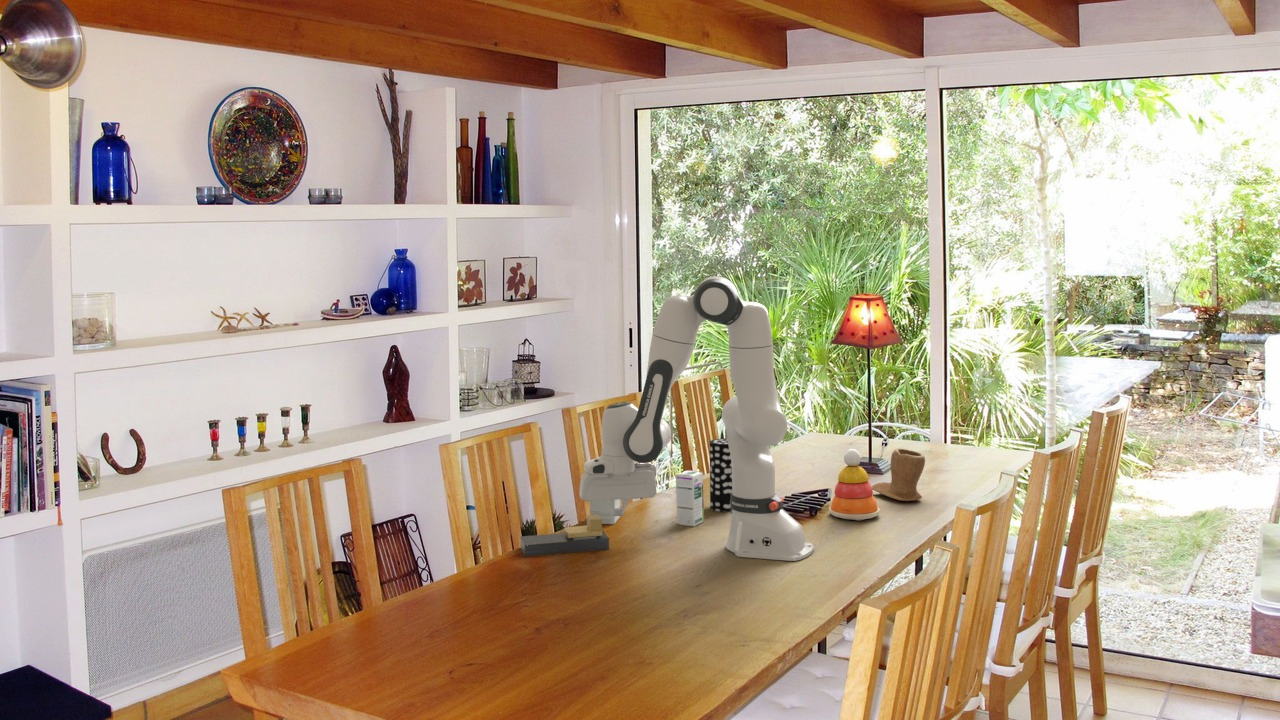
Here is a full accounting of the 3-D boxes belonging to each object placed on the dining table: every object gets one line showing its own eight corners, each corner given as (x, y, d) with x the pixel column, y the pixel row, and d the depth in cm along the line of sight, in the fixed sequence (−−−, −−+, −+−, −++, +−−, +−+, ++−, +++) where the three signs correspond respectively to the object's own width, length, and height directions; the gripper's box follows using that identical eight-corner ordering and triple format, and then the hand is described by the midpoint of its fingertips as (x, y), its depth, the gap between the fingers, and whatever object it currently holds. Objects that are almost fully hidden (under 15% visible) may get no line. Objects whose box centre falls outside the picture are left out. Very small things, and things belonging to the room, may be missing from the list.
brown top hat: (932, 501, 330) (933, 452, 329) (898, 505, 326) (899, 455, 324) (902, 490, 344) (903, 443, 343) (870, 494, 340) (870, 446, 338)
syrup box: (694, 527, 307) (694, 475, 305) (676, 524, 310) (675, 473, 308) (704, 522, 311) (703, 471, 310) (686, 519, 314) (685, 469, 313)
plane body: (602, 540, 294) (602, 528, 294) (609, 549, 287) (608, 537, 286) (520, 547, 289) (520, 535, 289) (524, 556, 282) (524, 544, 281)
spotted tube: (743, 506, 327) (743, 440, 325) (730, 513, 320) (729, 445, 318) (718, 503, 332) (718, 437, 329) (705, 509, 325) (704, 442, 322)
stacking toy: (888, 514, 316) (889, 448, 314) (864, 525, 306) (864, 456, 303) (844, 507, 326) (845, 442, 323) (819, 517, 315) (819, 450, 312)
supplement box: (615, 524, 310) (614, 480, 308) (589, 523, 311) (588, 479, 310) (620, 517, 317) (619, 474, 316) (595, 516, 319) (594, 473, 317)
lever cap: (597, 529, 293) (597, 513, 292) (602, 535, 287) (602, 519, 286) (564, 531, 291) (563, 516, 290) (568, 538, 285) (567, 522, 284)
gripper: (653, 459, 294) (653, 510, 296) (578, 463, 289) (578, 514, 291) (659, 464, 288) (659, 516, 290) (582, 468, 283) (582, 520, 285)
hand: (617, 515), depth 290 cm, fingers closed
